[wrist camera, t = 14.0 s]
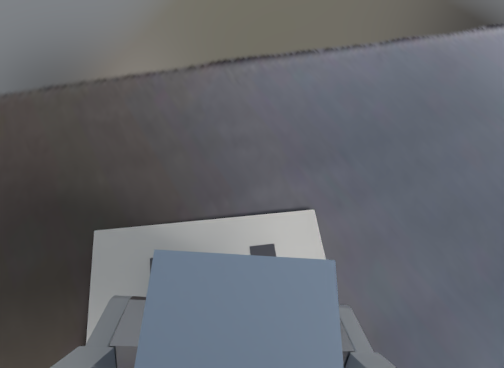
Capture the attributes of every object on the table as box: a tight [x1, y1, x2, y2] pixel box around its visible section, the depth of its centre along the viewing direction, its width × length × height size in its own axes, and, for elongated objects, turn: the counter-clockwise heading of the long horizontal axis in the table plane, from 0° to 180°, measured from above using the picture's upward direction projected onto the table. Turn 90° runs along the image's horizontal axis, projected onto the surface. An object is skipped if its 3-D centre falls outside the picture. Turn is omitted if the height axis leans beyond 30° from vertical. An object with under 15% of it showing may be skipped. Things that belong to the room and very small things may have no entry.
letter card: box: [86, 209, 326, 343], centre depth 16 cm, size 14×12×1 cm
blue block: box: [134, 249, 344, 368], centre depth 10 cm, size 4×4×10 cm
